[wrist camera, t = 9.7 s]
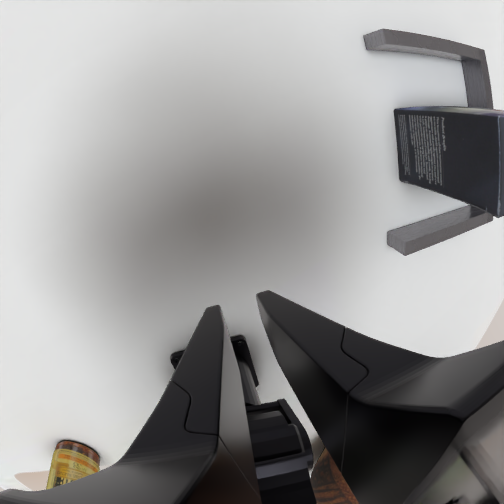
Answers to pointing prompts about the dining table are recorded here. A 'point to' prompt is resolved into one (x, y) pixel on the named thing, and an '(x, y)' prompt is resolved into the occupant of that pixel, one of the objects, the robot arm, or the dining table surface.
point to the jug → (330, 483)
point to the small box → (454, 153)
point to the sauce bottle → (71, 463)
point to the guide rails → (478, 96)
